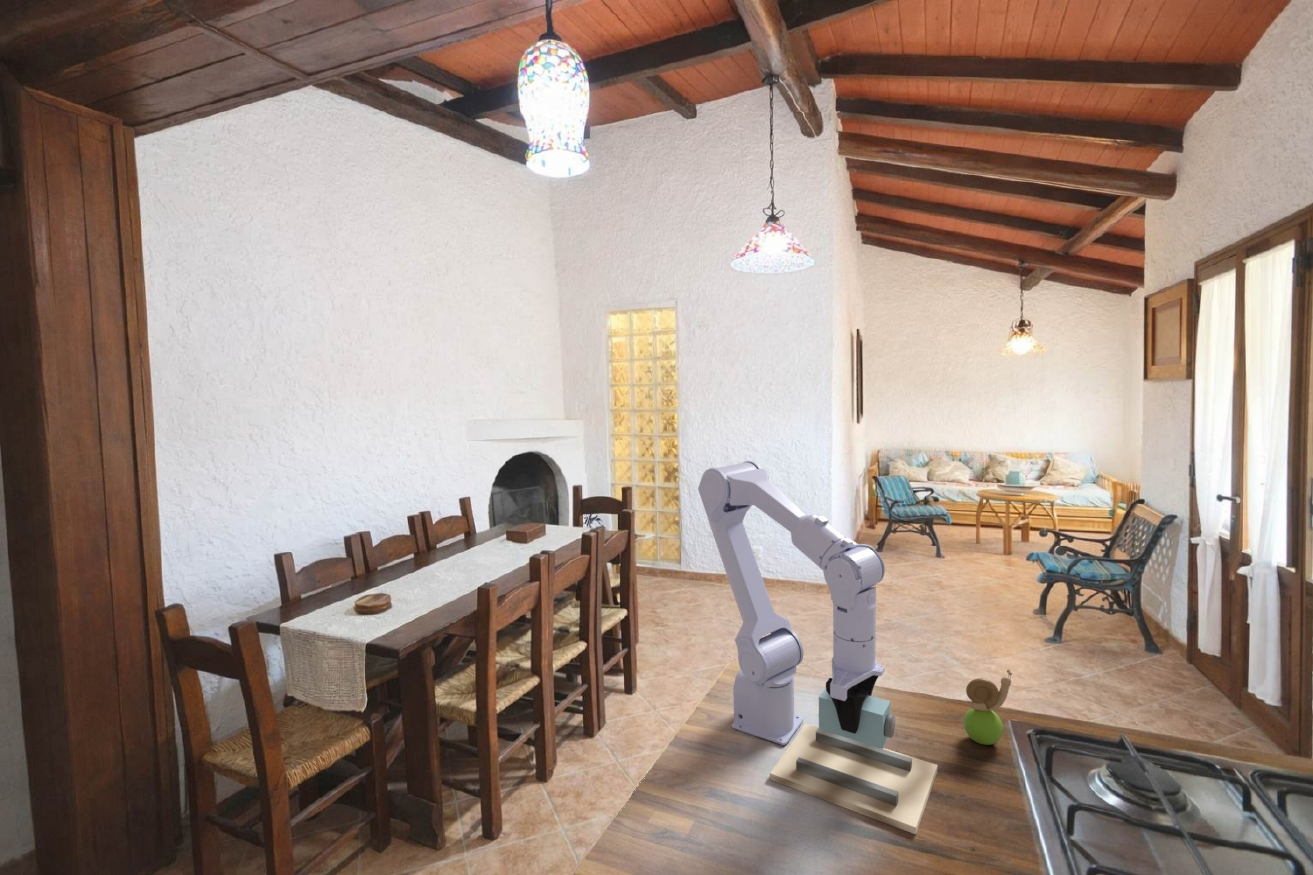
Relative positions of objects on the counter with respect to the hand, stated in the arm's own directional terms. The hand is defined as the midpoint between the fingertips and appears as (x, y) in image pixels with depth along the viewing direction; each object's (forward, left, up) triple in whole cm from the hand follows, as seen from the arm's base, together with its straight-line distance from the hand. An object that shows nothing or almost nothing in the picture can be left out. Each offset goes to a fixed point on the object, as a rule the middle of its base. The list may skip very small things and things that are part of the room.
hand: (854, 722), depth 90 cm
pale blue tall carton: (0, 0, -1) cm, 1 cm away
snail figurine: (+15, +18, -9) cm, 25 cm away
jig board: (0, 0, -8) cm, 8 cm away
